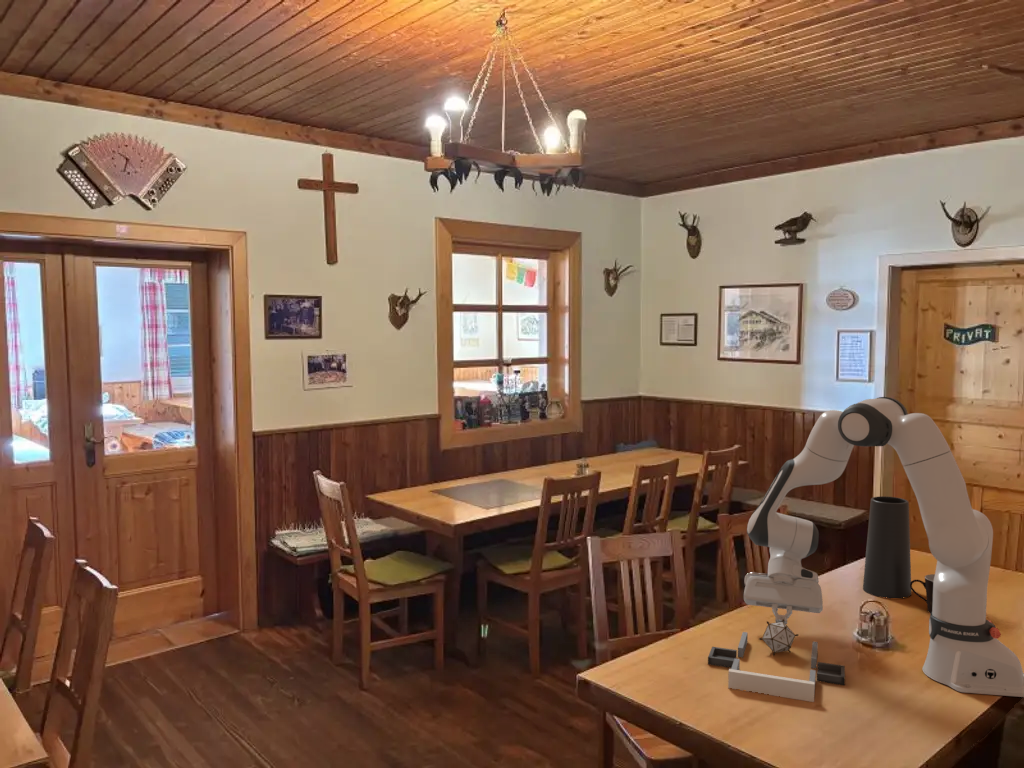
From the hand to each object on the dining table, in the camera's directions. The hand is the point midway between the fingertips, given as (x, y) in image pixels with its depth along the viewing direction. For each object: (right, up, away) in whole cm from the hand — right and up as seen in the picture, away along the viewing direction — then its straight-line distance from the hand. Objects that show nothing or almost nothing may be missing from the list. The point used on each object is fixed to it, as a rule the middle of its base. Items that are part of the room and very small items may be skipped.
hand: (781, 622), depth 212 cm
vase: (+46, -2, +37) cm, 59 cm away
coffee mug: (+51, -3, +20) cm, 55 cm away
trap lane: (-7, -6, -18) cm, 20 cm away
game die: (-4, -5, -8) cm, 10 cm away
